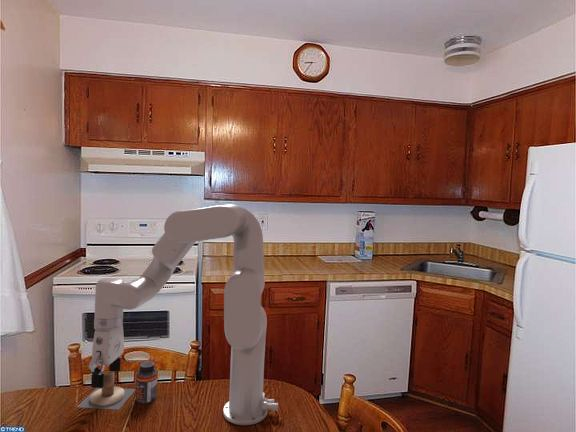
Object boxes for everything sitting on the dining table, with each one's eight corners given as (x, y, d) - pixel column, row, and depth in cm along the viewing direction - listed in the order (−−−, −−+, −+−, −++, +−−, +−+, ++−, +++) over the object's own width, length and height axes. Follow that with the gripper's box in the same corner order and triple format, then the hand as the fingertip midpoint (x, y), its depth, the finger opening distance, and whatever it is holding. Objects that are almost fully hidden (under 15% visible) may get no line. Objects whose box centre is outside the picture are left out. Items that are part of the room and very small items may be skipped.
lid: (129, 390, 112) (130, 368, 112) (115, 407, 103) (115, 382, 103) (100, 388, 112) (101, 366, 112) (83, 405, 103) (84, 381, 103)
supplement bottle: (130, 403, 107) (131, 365, 107) (146, 393, 112) (147, 357, 112) (144, 409, 104) (146, 370, 104) (161, 399, 110) (162, 362, 109)
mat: (135, 392, 113) (136, 389, 113) (118, 413, 102) (118, 409, 102) (97, 390, 113) (97, 387, 113) (76, 410, 102) (76, 407, 102)
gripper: (106, 333, 98) (103, 395, 99) (134, 313, 115) (132, 366, 116) (78, 331, 98) (76, 393, 99) (111, 311, 115) (108, 364, 116)
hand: (106, 378), depth 107 cm, fingers open, 9 cm apart
